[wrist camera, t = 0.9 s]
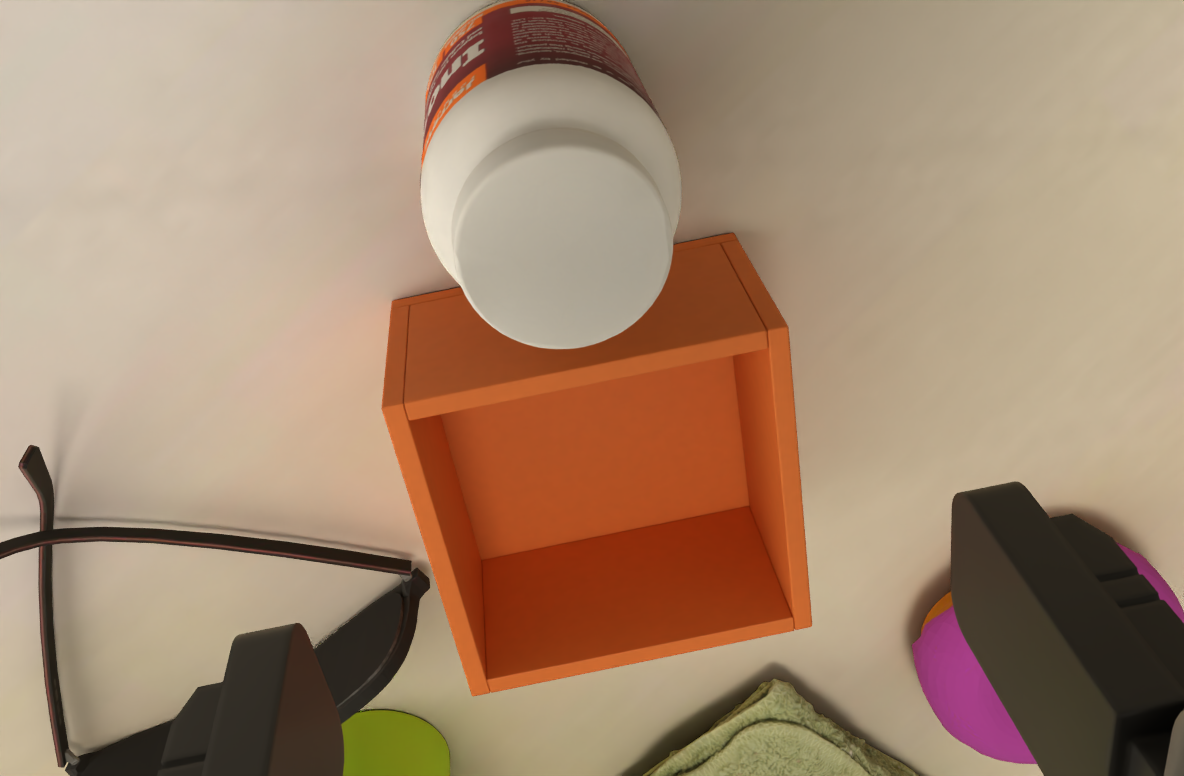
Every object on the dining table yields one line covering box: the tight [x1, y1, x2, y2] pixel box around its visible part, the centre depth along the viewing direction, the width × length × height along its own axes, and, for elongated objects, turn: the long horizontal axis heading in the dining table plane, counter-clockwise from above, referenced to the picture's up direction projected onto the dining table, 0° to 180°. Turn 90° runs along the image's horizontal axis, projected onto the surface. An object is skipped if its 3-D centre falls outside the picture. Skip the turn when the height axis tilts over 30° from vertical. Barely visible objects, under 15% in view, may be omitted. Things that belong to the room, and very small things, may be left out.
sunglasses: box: [0, 445, 430, 776], centre depth 37 cm, size 17×14×5 cm
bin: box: [382, 233, 812, 696], centre depth 35 cm, size 11×11×7 cm
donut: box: [912, 543, 1184, 764], centre depth 44 cm, size 10×10×5 cm
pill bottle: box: [420, 0, 682, 349], centre depth 28 cm, size 6×6×11 cm
